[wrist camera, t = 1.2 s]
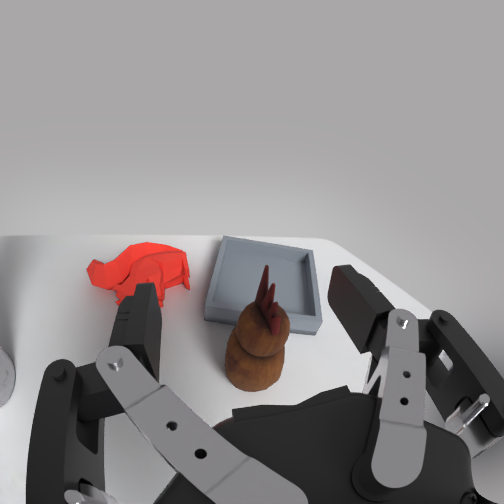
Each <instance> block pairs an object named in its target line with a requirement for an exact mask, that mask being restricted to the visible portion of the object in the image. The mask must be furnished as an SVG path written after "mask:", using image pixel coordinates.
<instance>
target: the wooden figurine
mask: <svg viewBox="0 0 504 504" xmlns="http://www.w3.org/2000/svg"><path fill="white" fill-rule="evenodd" d="M268 284H269V266H268V265H265V268H264V271H263V274H262V278H261V281H260V284H259V288H258V291H257V295H256V298H255V301H254V302H252V303H250V304H249V305H247V306H246V307H245V308H244V310H243V311H242V312H241V314H240V316H239V319H238V322H237V326H236V327H235V328H234V329H233V331H232V333H231V335H230V337H229V340H228V343H227V349H226V355H225V370H226V373H227V377H228V379H229V381H230V382H231V383H232V384H233V385H234V386H235V387H236V388H238V389H240V390H243V391H248V392H256V391H261V390H265V389H267V388H268V387H270V386H271V385H272V384H274V383H275V382H276V381H278V379H279V377H280V375H281V371H282V368H283V364H284V353H285V347H284V344H285V343H286V341H287V339H288V336H289V331H290V321H289V317H288V315H287V314H286V312H285V310H284V309H283V308H282V307H281V306H279V305H278V302H274V294H275V286H276V285H275V283H272V284H271V286H270V288H269V290H268Z"/></svg>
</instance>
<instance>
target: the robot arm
mask: <svg viewBox="0 0 504 504" xmlns="http://www.w3.org/2000/svg"><path fill="white" fill-rule="evenodd" d="M328 302H329V305H330V307H331V308H332V310H333V312H334V313H335V315H336V316H337V318H338V319H339V321H340V322H341V324H342V325H343V327H344V329H345V330H346V332H347V333H348V335H349V336H350V338H351V340H352V341H353V343H354V344H355V346H356V348H357V349H358V351H359V352H360V354H362V353H366V352H369V351H370V352H371V353H372V355H371V357H370V360H369V365H368V370H367V374H366V379H365V384H364V388H363V391H362V393H356V392H350V391H349V389H348V387H347V385H346V386H342V387H339V388H335V389H332V390H328V391H324V392H321V393H319V394H317V395H315V396H313V397H311V398H309V399H307V400H305V401H303V402H301V403H299V404H297V405H258V406H251V407H244V408H237V409H232V417H231V418H229V419H226V420H224V421H222V422H220V423H218V424H217V425H215V426H214V427H213V428H211V427H210V426H209V425H208V424H207V423H205V422H204V421H203V420H202V419H201V418H200V417H199V416H198V415H196V414H195V413H194V412H193V411H192V410H191V409H190V408H189V407H188V406H187V405H186V404H185V403H184V402H183V401H182V400H181V399H180V398H179V397H178V396H176V395H175V394H174V393H173V392H172V391H171V390H170V389H169V388H168V387H167V386H166V385H162V386H161V385H160V384H159V363H160V344H161V329H162V317H161V310H160V306H159V301H158V297H157V292H156V287H155V284H154V282H150V283H137V284H136V288H135V292H134V295H132V296H126V297H125V298H124V299H123V300H122V301H121V303H120V304H119V308H118V311H117V315H116V319H115V322H114V326H113V330H112V334H111V338H110V342H109V346H108V348H106V349H104V350H103V351H102V352H101V353H100V354H99V355H98V357H97V359H96V362H94V363H91V364H88V365H84V366H80V367H75V366H74V364H73V363H72V362H71V361H69V360H66V359H60V360H56V361H54V362H52V363H51V364H50V365H49V366H48V367H47V368H46V370H45V372H44V375H43V379H42V383H41V387H40V391H39V395H38V399H37V404H36V409H35V414H34V419H33V424H32V430H31V437H30V444H29V452H28V462H27V476H26V504H119V503H118V501H117V500H116V499H115V498H114V497H112V496H111V495H109V494H107V493H105V479H104V421H105V417H109V416H113V415H117V414H120V413H124V412H125V413H126V415H127V416H128V417H129V419H130V420H131V421H132V422H133V424H134V425H135V426H136V427H137V429H138V430H139V431H140V432H141V434H142V435H143V436H144V437H145V438H146V440H147V441H148V442H149V443H150V444H151V445H152V447H153V448H154V449H155V450H156V451H157V452H158V453H159V455H160V456H161V457H162V458H163V459H164V460H165V461H166V462H167V463H168V464H169V465H170V466H171V467H172V468H173V469H174V470H175V471H176V472H177V473H176V475H175V476H174V477H173V479H172V480H171V481H170V482H169V484H168V485H167V486H166V488H165V489H164V490H163V492H162V493H161V494H160V495H159V497H158V498H157V499H156V500H155V502H154V503H153V504H497V503H494V502H492V501H489V500H487V499H485V498H484V497H482V496H481V495H479V494H478V492H477V491H476V489H475V487H474V484H473V480H472V472H471V459H473V458H475V457H477V456H478V455H479V454H481V453H482V452H483V451H485V450H486V449H487V448H489V447H490V446H491V445H493V444H494V443H495V442H496V441H498V440H499V439H500V438H501V437H502V436H504V380H503V378H502V377H501V375H500V374H499V372H498V371H497V370H496V368H495V367H494V366H493V364H492V363H491V362H490V361H489V359H488V358H487V356H486V355H485V354H484V353H483V352H482V350H481V349H480V348H479V346H478V345H477V344H476V343H475V341H474V340H473V339H472V338H471V337H470V335H469V334H468V333H467V332H466V331H465V329H464V328H463V327H462V326H461V325H460V324H459V322H458V321H457V320H456V319H455V318H454V317H453V316H452V315H451V314H450V313H448V312H446V311H443V310H435V311H433V312H432V314H431V316H430V318H429V319H417V318H416V317H415V315H413V314H412V313H411V312H409V311H407V310H404V309H395V307H394V306H393V305H392V304H391V303H390V302H389V301H388V300H387V298H386V297H385V296H384V295H383V294H382V293H381V292H380V291H379V289H378V288H377V287H375V285H374V284H373V283H372V282H371V281H370V280H369V279H368V278H367V277H365V276H363V275H362V274H359V273H358V272H357V271H356V270H355V269H354V268H353V267H352V266H351V265H341V266H335V267H334V268H333V270H332V275H331V280H330V285H329V290H328ZM442 350H444V351H445V352H446V354H447V355H448V356H449V358H450V359H451V360H452V362H453V371H452V373H451V374H450V373H449V371H448V370H447V368H446V367H445V365H444V364H443V362H442V361H441V360H440V358H439V355H440V354H441V352H442ZM14 382H15V370H14V365H13V362H12V360H11V358H10V357H9V356H8V354H7V353H6V352H5V351H4V350H3V349H2V347H1V346H0V407H1V406H2V405H4V404H5V403H6V401H7V400H8V399H9V397H10V395H11V393H12V391H13V387H14ZM425 389H426V390H427V392H428V394H429V395H430V397H431V399H432V400H433V402H434V404H435V405H436V407H437V409H438V411H439V412H440V414H441V415H442V418H443V419H444V421H445V423H446V430H445V429H443V428H440V427H438V426H436V425H434V424H431V423H429V422H427V421H424V408H425Z"/></svg>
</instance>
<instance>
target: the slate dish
mask: <svg viewBox="0 0 504 504" xmlns="http://www.w3.org/2000/svg"><path fill="white" fill-rule="evenodd" d="M265 265H268V266H269V284H268V290H269V288H270V286H271V284H272V283H275V285H276V286H275V294H274V302H278V305H279V306H281V307H282V308H283V309H284V310H285V312H286V314H287V315H288V317H289V321H290V331H289V333H296V334H306V335H316V333H317V331H318V329H319V328H320V326H321V324H322V313H321V305H320V297H319V290H318V282H317V275H316V268H315V262H314V255H313V250H307V249H302V248H296V247H290V246H284V245H278V244H272V243H266V242H260V241H253V240H247V239H241V238H235V237H229V236H223V239H222V242H221V246H220V250H219V253H218V257H217V261H216V264H215V268H214V272H213V275H212V279H211V283H210V287H209V290H208V294H207V298H206V302H205V311H204V320H207V321H213V322H219V323H225V324H231V325H237V322H238V319H239V316H240V314H241V312H242V311H243V310H244V308H245V307H246V306H247V305H249V304H250V303H252V302H254V301H255V298H256V295H257V291H258V288H259V284H260V281H261V278H262V274H263V271H264V268H265Z"/></svg>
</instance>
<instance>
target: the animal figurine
mask: <svg viewBox="0 0 504 504" xmlns="http://www.w3.org/2000/svg"><path fill="white" fill-rule="evenodd" d="M86 270H87V272H88V275H89V278H90V280H91V283H92V285H94V286H97V287H101V288H104V289H108V290H115V291H117V294H116V296H117V297H118V298H119V299H120V300H118V301H116V303H117V304H118V305H119V304H120V303H121V301H122V300H123V299H124V298H125V297H126V296H132V295H134V292H135V288H136V284H137V283H150V282H154V284H155V287H156V292H157V297H158V301H159V306H160V307H163V300H164V295H165V288H169V287H172V286H175V285H178V284H180V283H183V282H184V285H185V287H186V288H187V289H189V290H190V285H189V280H188V277H189V278H190V276H189V267H188V262H187V257H186V252H183V251H182V250H179V249H177V248H174V247H171V246H168V245H163V244H156V243H149V242H145V243H140V244H135V245H130V246H129V247H128V248H127V249H126V250H125V251H124V252H122V253H121V254H120V255H119V256H118V257H117V258H116V259H115V260H113V261H111V262H109V263H106V264H103V263H102V262H99V261H97V260H93V261H92V262H91V263H90V265H89V266H88V268H87V269H86ZM124 281H125V282H124ZM123 282H124V283H123ZM122 283H123V284H122Z"/></svg>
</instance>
